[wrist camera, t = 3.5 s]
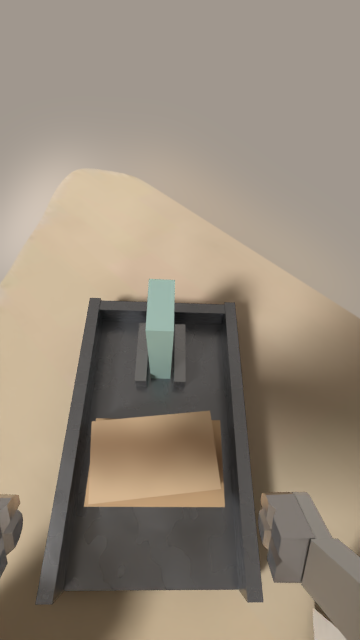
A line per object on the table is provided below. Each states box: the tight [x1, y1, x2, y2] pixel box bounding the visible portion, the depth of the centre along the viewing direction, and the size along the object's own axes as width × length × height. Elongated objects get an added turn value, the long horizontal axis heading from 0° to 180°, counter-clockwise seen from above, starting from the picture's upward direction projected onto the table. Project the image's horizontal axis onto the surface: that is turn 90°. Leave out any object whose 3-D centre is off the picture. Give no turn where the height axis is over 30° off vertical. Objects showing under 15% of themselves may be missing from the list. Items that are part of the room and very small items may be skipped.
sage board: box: [145, 279, 175, 379], centre depth 24 cm, size 4×2×10 cm, turn 0°
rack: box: [36, 298, 263, 604], centre depth 25 cm, size 22×14×3 cm, turn 0°
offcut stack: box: [84, 411, 225, 507], centre depth 23 cm, size 6×10×4 cm, turn 90°
